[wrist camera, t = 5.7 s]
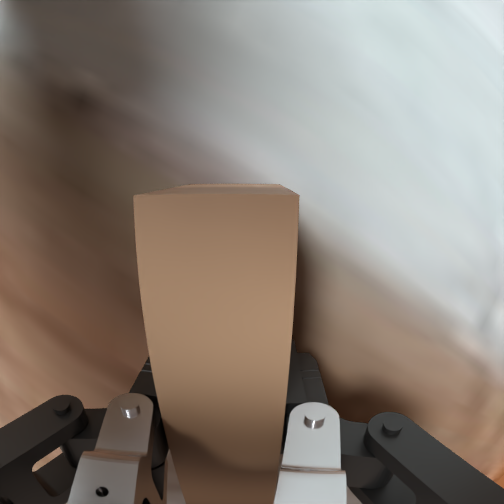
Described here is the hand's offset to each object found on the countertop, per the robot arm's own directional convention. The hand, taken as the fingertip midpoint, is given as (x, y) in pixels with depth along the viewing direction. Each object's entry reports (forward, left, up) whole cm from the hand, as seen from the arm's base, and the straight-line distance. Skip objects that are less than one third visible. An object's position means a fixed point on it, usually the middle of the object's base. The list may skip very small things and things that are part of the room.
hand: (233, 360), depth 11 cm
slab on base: (0, 0, -1) cm, 1 cm away
